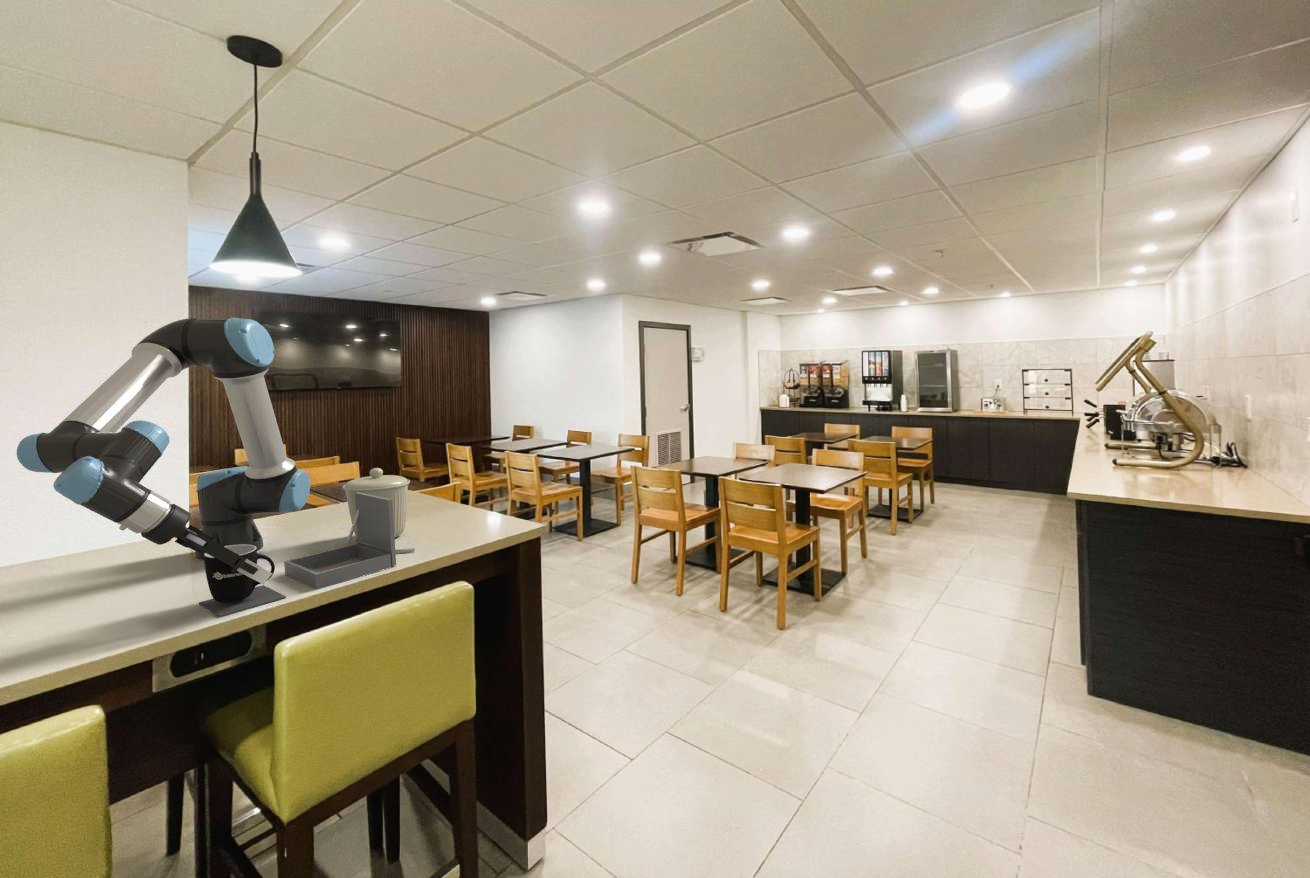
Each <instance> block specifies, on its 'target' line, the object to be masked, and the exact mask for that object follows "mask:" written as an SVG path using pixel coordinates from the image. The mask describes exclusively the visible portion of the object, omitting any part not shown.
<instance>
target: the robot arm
mask: <svg viewBox="0 0 1310 878" xmlns="http://www.w3.org/2000/svg"><path fill="white" fill-rule="evenodd" d="M274 352H275V346H274V343H273V339H272V337H271V335H270V333H269V331H268V330H267V329H266V328H265V327H264V326H263V325H262V324H260V323H259V322H258V321H257V320H255V319H250V318H240V317H219V318H218V317H215V318H214V317H213V318H212V317H210V318H192V317H191V318H189V317H188V318H187V317H186V318H183V319H178V320H176V321H172V322H170V323H167V324H165V325H163V326H161V327H159V328H157V329H156V330H154V331H153V332H151V333H150V334H148V335H147V336H145V337H144V338H143V339H141V340H140V341H139V342H138V343H137V344H135V346H134V347H133V348H132V350H131V357H129V359H127V361H126V362H124V363H123V364H122V365H121V366H120V367H119V368H118V369H116V371H115V372H114V373H113V374H111V375H110V376H109V377H108V378H107V379H106V380H105V381H104V382H103V383H101V384H100V386H98V388H97V389H95V390H94V391H93V392H91V394H90V395H88V397H86V398H85V400H83V401H82V402H81V403H80V404H79V405H78V406H76V408H75V409H73V411H72V412H71V413H69V414H68V415H67V416H66V417H65V418H64V419H63V420H62V421H61V422H60V423H59V424H58V425H56V426H55V427H54V428H53V429H52V430H51V431H49V432H47V433H46V432H39V433H33V434H29V435H27V436H25V437H23V438H22V439H21V440H20V441H19V443H18V445H17V448H16V457H17V458H16V459H17V460H18V462H19V463H20V464H21V465H22V467H23V468H25V469H26V470H28V471H31V472H34V473H52V474H59V475H58V476H57V478H56V479H55V480H54V482H53V485H52V486H53V489H54V491H55V492H57V493H58V494H60V495H61V496H63V497H64V498H67V499H68V500H70V501H72V502H73V504H76V505H79V506H81V507H84V508H85V509H88V510H89V511H91V512H94V513H95V514H97V515H99V516H101V517H103V518H104V519H105V518H106V519H108V520H110V521H111V522H114V523H116V524H118V525H120V526H119V530H121V531H125V530H126V529H128V530H129V531H132V532H133V533H135V534H140V535H141V537H142V538H145V540H148V541H149V542H152V543H154V544H155V545H158V546H160V545H165V544H166V543H168V542H170V541H171V540H172V539H175V540H174V543H177V544H178V545H180V546H182V547H184V548H186V549H188V548H189V549H190V550H193V551H195V553H194V554H195V558H196V559H200V560H201V559H202V560H204V554H205V553H207V554H208V555H210V556H212V557H214V558H216V559H218V560H220V561H222V562H224V563H226V564H227V565H229V566H231V567H232V568H233V570H232V572H234V573H235V571H236V570H237V571H239V572H241V573H242V574H244V575H246V576H248V577H250V578H252V579H254V580H256V581H257V582H259V583H261V584H260V585H264V584H265V583H266V582H267V581H268V580H269V579H268V578H269V577H270V576H271V575H272V573H271V571H269V570H268V569H266V568H264V567H262V566H260V565H258V563H257V564H255V563H253V562H251V561H250V560H248V559H246V558H245V557H244V556H243V557H242V556H240V555H238V554H236V553H235V552H233V551H231V550H229V549H227V548H225V547H224V546H230V545H242V544H246V545H253V546H256V548H257V551H259V550H261V549H262V548H263V547H264V539H263V536H262V535H261V533H260V531H259V528H258V527H257V525H256V522H255V521H254V514H255V515H257V514H286V513H296V512H299V511H300V510H302V508H303V507H304V506H305V504H306V503H307V501H308V499H309V496H310V492H311V491H310V490H311V479H310V476H309V473H308V472H307V471H305V470H302V469H298V468H297V465H296V461H295V460H293V459H292V458H289V457H288V456H287V453H286V449H285V445H284V443H283V440H282V439H283V438H282V436H281V432H280V428H279V425H278V422H277V418H276V414H275V412H274V411H275V410H274V408H273V404H272V400H271V397H270V394H269V391H268V387H267V384H266V383H267V382H266V380H265V375H266V373H267V372H268V371H269V369H270V367H269V365H270V364H271V363H272V362H273V361H274V358H275V354H274ZM194 367H209V368H210V371H211V373H212V376H213V377H212V378H214V379H216V380H218V381H220V382H222V384H223V386H224V389H225V393H226V396H227V399H228V402H229V405H230V408H231V412H232V414H233V418H234V421H235V425H236V427H237V428H236V429H237V430H238V433H239V437H240V439H241V442H242V446H243V449H244V452H245V455H246V459H247V462H248V465H249V466H246V465H244V466H242V465H241V466H236V467H229V468H223V469H222V468H221V469H217V470H213V471H208V472H204V473H202V474H201V473H200V475H198V476H197V478H196V492H197V501H198V509H199V510H198V511H199V519H200V529H199V527H196V526H193V525H192V524H191V525H188V527H187V524H188V522H190V519H191V513H190V512H189V511H188V510H186V509H184V508H182V507H181V506H179V505H177V504H175V503H171V501H170V500H169V499H167V498H166V497H164V496H162V495H160V494H158V493H156V492H155V491H154V490H151V489H149V488H148V487H146V486H145V485H143V484H141V481H142V479H144V477H145V476H146V475H147V474H148V472H149V471H150V470H151V468H153V467H154V465H155V464H156V463H157V462H158V460H159V459H160V458H162V456H163V454H164V451H165V450H166V449H167V447H168V446H169V444H170V436H169V434H168V433H167V431H166V430H165V429H164V428H163V427H161V426H160V425H158V424H157V423H154V422H151V421H147V420H138V419H137V420H133V421H131V422H129V423H127V424H126V425H125V426H124V424H125V423H126V422H127V421H128V420H129V419H130V418H131V417H132V416H133V415H134V414H135V413H136V412H137V411H138V410H139V409H140V408H141V406H142V405H144V404H145V403H146V401H147V400H148V399H149V398H150V397H151V396H152V395H153V394H154V393H155V392H157V390H158V389H159V388H160V387H161V385H163V383H164V382H165V381H167V379H168V378H174V377H176V376H178V375H180V373H182V371H184V370H186V369H190V368H194ZM121 427H122V428H121ZM120 429H121V430H120ZM119 430H120V431H119ZM272 576H273V575H272ZM272 576H271V577H272ZM267 579H268V580H267Z"/></svg>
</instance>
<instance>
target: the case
mask: <svg viewBox="0 0 1310 878" xmlns="http://www.w3.org/2000/svg"><path fill="white" fill-rule="evenodd" d="M355 506H356V515H355V519H354V522H353V525H352V524H351V529H350V532H349V533H348V537H347V540H346V543H345V546H342V547H341V546H340V547H337V548H332V549H329V550H325V551H321V552H317V553H312V554H309V555H305V556H299V557H296V558H292V559H288V560H284V561H283V564H284V565H283V566H284V574H285V575H284V576H286V577H289V578H290V579H293V580H294V581H298V582H299V583H302V584H304V585H306V586H308V587H311V588H313V589H315V590H321V589H324V588H326V587H330V586H334V585H336V584H340V583H343V582H347V581H350V580H354V579H357V578H361V577H364V576H363V575H365V576H367V575H366V574H368V575H370V574H369V573H371V574H374V573H373V572H375V573H377V572H376V571H378V572H380V571H379V570H382V569H385V570H387V569H386V568H388V569H390V568H389V567H391V568H392V567H393V566H395V567H396V565H397V558H396V555H397V554H396V553H395V550H396V539H395V538H396V537H395V538H394V522H393V506H392V499H388V498H383V497H379V496H374V495H369V494H365V493H360V492H356V493H355ZM356 523H357V534H358V538H357V542H356V543H353V544H351V541H352V539H353V535H354V529H355V526H356ZM356 558H357V559H360V560H361V561H357V562H353V563H349V564H346V565H342V566H337V567H334V568H332V569H327V570H324V571H320V572H319V571H318V572H317V571H314V569H318V568H322V567H325V566H330V565H333V564H337V563H340V562H344V561H348V560H352V559H356ZM382 571H383V570H382ZM360 576H361V577H360Z"/></svg>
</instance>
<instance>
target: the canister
mask: <svg viewBox="0 0 1310 878" xmlns="http://www.w3.org/2000/svg"><path fill="white" fill-rule="evenodd" d="M383 473H384V470H383V469H382V468H380V467H374V468H372V469H370V470H369V476H362V477H357V478H354V479H351V480H349V481H348V482H347V483H346V484H344V485H343V486H342V489H343V490H344V491H345V495H346V502H347V506H348V511H349V516H350V521H351V526H352V525H353V522H354V519H355V515H356V506H355V493H356V492H360V493H365V494H369V495H374V496H379V497H383V498H388V499H392V506H393V522H394V538H397V537H399V536H401V535H402V534H403V532H404V530H405V528H406V520H407V510H408V509H407V508H408V493H409V492H408V491H409V490H408V488H409V484H410V483H411V480H410V479H408V478H406V477H404V476H401V475H393V474H391V475H390V474H386V475H385V474H383ZM353 534H354V535H355V537H356V538H357V539H358V534H357V523H356V526H355V529H354V532H353Z"/></svg>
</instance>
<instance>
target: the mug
mask: <svg viewBox="0 0 1310 878" xmlns="http://www.w3.org/2000/svg"><path fill="white" fill-rule="evenodd" d="M224 547H225V548H227V549H229V550H231V551H233V552H235V553H236V554H238V555H240V556H242V557H243V556H244V557H245V558H246V559H248V560H250V561H251V562H253V563H255V564H257V565H258V560H260V559H261V560H265V561H267V562H268V563H269V565H270V572H271V573H272V575H271V576H270V577H269V578H268V579H267V581H269V580H270V579H271V578H272V576H273V575H274V573H275V570H276V566H275V562H274V560H273V559H272V557H269V556H267V555H264V554H261V553H258V550H257V548H256V546H253V545H246V544H242V545H230V546H224ZM203 561H204V562H203V563H204V570H205V577H206V581H207V582H206V583H207V586H208V589H209V592H210V595H211V596H212V599H213V598H214V600H216V601H217V602H233V601H238V600H241V599H244V598H247V597H249V596H250V595H251V594H252V592H253V590H254V588H255V587H258V586H260V585H262V584H261V583H259V582H257V581H256V580H254V579H252V578H250V577H248V576H246V575H244V574H242V573H241V572H239V571H237V570H236V571H235V573H234V572H232V570H233V568H232V567H231V566H229V565H227V564H226V563H224V562H222V561H220V560H218V559H216V558H214V557H212V556H210V555H208V554H207V553H205V554H204V559H203Z"/></svg>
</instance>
